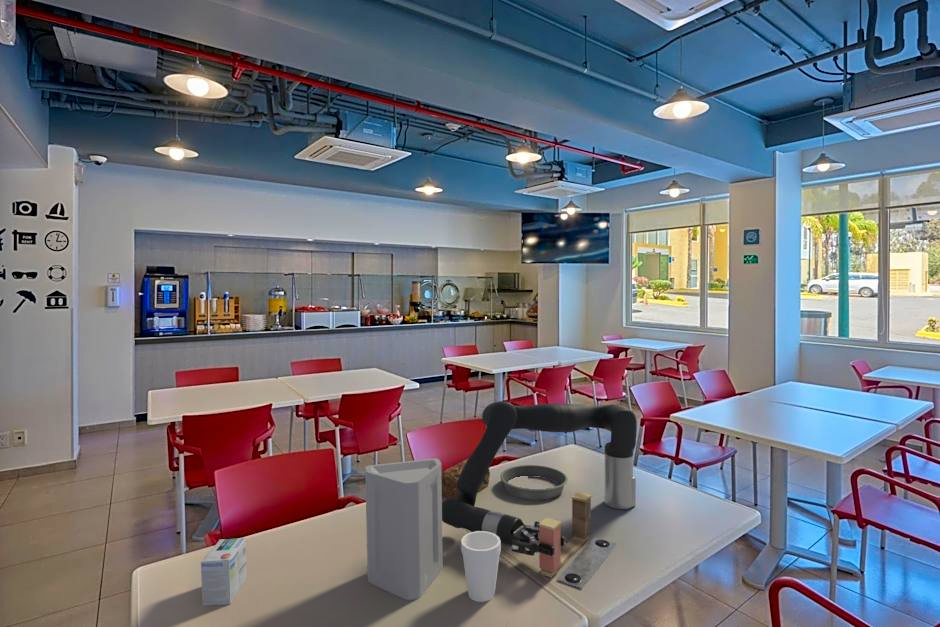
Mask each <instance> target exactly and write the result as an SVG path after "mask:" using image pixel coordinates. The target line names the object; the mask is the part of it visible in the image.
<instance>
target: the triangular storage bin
mask: <svg viewBox="0 0 940 627" xmlns="http://www.w3.org/2000/svg"><path fill="white" fill-rule="evenodd" d="M364 471H365V474H364V475H365V511H366V512H365V516H366V517H365V519H366V520H365V521H366V523H365V524H366V564H367V566H366V569H367V572H366V573H367V580H368V582H369V583H370V584H372V585H373V586H375V587H378V588H380V589H382V590H383V591H386V592H388V593H390V594H392V595H394V596H397V597H399V598H400V599H403V600H405V601H413V600H414V601H415V600H418V599H420V598H421V597H422V596H423V595H424V594H425V593H426V591H428V589H429V588H430V587H431V585H432V584H433V582H434V581H435V580H436V578H438V576H440V574H441V572H442V571H443V569H444V568H443V567H444V566H443V562H444V561H443V559H444V558H443V557H444V556H443V521H442V502H443V500H442V498H443V497H442V480H441V473H442V461H441V460H440V459H439V458H435V457H434V458H427V459H426V458H424V459H417V460H408V461H398V462H397V461H395V462H389V463H379V464H378V463H377V464H371V465H366V466H365V470H364Z"/></svg>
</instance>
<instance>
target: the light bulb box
mask: <svg viewBox="0 0 940 627" xmlns="http://www.w3.org/2000/svg"><path fill="white" fill-rule="evenodd" d="M247 570H248V569H247V539H246V538H245V537H240V538H239V537H238V538H224V539H223V538H222V539H218V541H217V542H216V544H215V545H214V546H213V547H212V549H211V550H210V551H209V553H207V555H206V556H205V557H204V558H203V559H202V560H201V561H200V575H201V598H202V599H201V601H202V604H201V605H202V606H204V607H205V606H223V605H224V606H225V605H231V604H232V603H233V600H234V599H235V598H236V596H237V595H238V593H239V592H240V590H241V588H242V587H243V585H244V584H245V582H246V581H247V579H248V576H247V575H248V574H247V573H248V572H247Z"/></svg>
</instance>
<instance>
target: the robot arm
mask: <svg viewBox="0 0 940 627" xmlns="http://www.w3.org/2000/svg"><path fill="white" fill-rule="evenodd" d="M481 416H482V422H483V423H484V425H485V427H486V428H485V430H484V433H483V435H482V437H481V439H480V441H479V443H477V446H476V447H475V449H474V450H473V451H472V453H470V456H469V457H468V458H467V459H468V460H467V462H466V463H465V465H464V467H463V470H462V471H461V474H460V476H459V478H458V480H457V482H456V489H457V490H458V497H457V499H453V498H447V499H446V498H445V499H444V500H442V523H444V524H447V525H448V526H451V527H453V528H455V529H463V530H464V529H465V530H467V531H468V532H475V531H487V532H491V533H494V534H495V535H497V536H498V537H499V538H500V541H501V545H504V546H507V547H509V548H510V549H511V552H512V553H518V554H521V555H525V556H526V555H527V556H531V557H532V556H534V555H535V554H539V553H543V554H546V555H550V556H554V554H555V548H554V547H553V546H550V545H547V544H544V543H540V542H539V523H540V522H541V521H534V524H533V525H531V524H529V525H528V524H524V522H523V520H522V519H521V518H519V517H516V516H513V515H511V514H508V513H507V514H506V513H503V512H499V511H493V510H491V509H490V510H489V509H487V508H482V507H477V506H476V500H477V495H478V493H479V492H480V491H479V488H480V486H481V484H482V482H483V480H484V478H485V475H486V473H487V471H488V469H489V470H490V467H491V464H492V462H493V461H494V458H495V457H496V455H497V453H498V451H499V450H500V448H501V447H502V445H503V443H504V442H505V440H506V438H507V437H508V435H509V434H510V432H511V431H512V430H521V429H522V430H532V431H537V432H548V433H573V432H574V433H575V432H576V431H580V430H582V429H586V428H594V429H603V430H607V431H609V432H611V434H610V441H609V442H606V443H605V444H604V504H605V505H606V506H607V507H609V508H612V509H615V510H629V509H632V507H636V494H637V493H636V491H637V490H636V486H637V484H636V483H637V482H636V477H635V476H634V450H635V448H636V444H637V431H638V430H637V429H638V427H637V425H638V423H637V422H638V421H637V416H636V414H635V413H634V412H633V411H632V410H631V409H628V408H626V407H623V406H621V405H618V404H614V403H613V404H611V403H610V404H601V405H599V404H598V405H582V404H571V403H540V404H532V405H517V404H516V405H515V404H512V403H511V402H509V401H507V400H506V401H505V400H504V401H503V400H501V401H495V402H491V403H489V404H488V405H487V406H485V408H484V409H483V411H482V415H481ZM478 491H479V492H478ZM477 492H478V493H477ZM565 545H566V538H565V536H563V535H561V546H562V547H564V546H565Z"/></svg>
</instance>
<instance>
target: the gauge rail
mask: <svg viewBox="0 0 940 627" xmlns="http://www.w3.org/2000/svg"><path fill="white" fill-rule="evenodd" d="M591 498H592V494H589V493H585V492H584V493H583V492H579V491H577V492H575V493H574V494H573V495H572V496H571V500H572V502H571V504H572V505H571V511H572V512H571V514H572V515H571V517H572V518H571V521H572V522H571V524H572V526H571V528H572V529H571V530H572V531H571V532H572V533H571V534H572V535H571V536H572V538H570V540H569V541H568V542H567V543H565V545H564V546H562V547H561V566H562V565H563V566H564V565H566V563H567V562H568V561H569V560H570V559H571V558H572V557H573V556H574V555H575V553H576V552H577V551H578V550H579V549H580V548H581V547H582V546H583V545H584V544H585V543H586V542H585V541H588V539H590V535H591V534H592V533H591V532H592V529H591V527H592V520H591V519H592V513H591V512H592V509H591V508H592V507H591V506H592V501H591V500H592V499H591ZM584 542H585V543H584ZM573 554H574V555H573ZM572 555H573V556H572ZM571 556H572V557H571ZM570 557H571V558H570ZM569 558H570V559H569ZM568 559H569V560H568ZM561 566H560V567H559V568H558V569H557V570H556V571H555V572H554V573H552V572H549V571H547V570H544V569H541V568H540V575H541V574H543V575H542V576H544V575H546V576H549V577H551V578H550V579H553V577H554V576H555V575H556V574H557V573H558V572H559V571H560V570H561V569H562V568H561ZM563 566H562V567H563ZM560 568H561V569H560ZM559 569H560V570H559ZM558 570H559V571H558ZM557 571H558V572H557ZM556 572H557V573H556ZM555 573H556V574H555ZM554 574H555V575H554ZM553 575H554V576H553ZM546 576H545V577H546ZM552 576H553V577H552ZM549 577H548V578H549Z"/></svg>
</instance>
